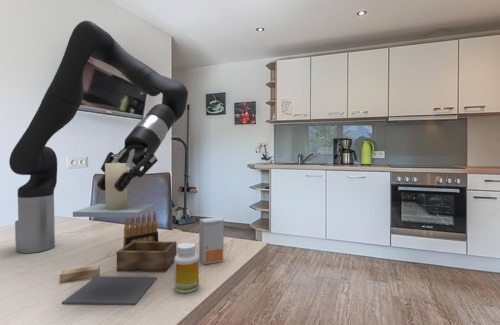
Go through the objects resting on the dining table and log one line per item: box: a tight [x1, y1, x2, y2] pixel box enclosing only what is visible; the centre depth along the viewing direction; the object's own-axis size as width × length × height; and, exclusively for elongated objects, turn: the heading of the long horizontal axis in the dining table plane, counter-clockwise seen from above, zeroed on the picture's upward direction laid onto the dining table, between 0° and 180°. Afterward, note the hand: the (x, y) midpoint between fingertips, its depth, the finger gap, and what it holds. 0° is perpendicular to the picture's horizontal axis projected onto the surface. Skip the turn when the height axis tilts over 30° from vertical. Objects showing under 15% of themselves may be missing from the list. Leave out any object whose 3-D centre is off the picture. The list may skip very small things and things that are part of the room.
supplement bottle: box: [173, 242, 200, 294], centre depth 62 cm, size 5×5×10 cm
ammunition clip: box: [122, 210, 159, 248], centre depth 88 cm, size 11×2×12 cm, turn 132°
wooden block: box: [59, 265, 101, 285], centre depth 67 cm, size 8×2×2 cm, turn 113°
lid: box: [72, 162, 155, 218], centre depth 62 cm, size 14×10×11 cm
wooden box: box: [116, 240, 178, 273], centre depth 76 cm, size 13×9×5 cm
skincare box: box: [198, 216, 225, 265], centre depth 78 cm, size 6×4×12 cm
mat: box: [61, 275, 158, 306], centre depth 61 cm, size 15×12×1 cm
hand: (109, 188), depth 60 cm, fingers closed on lid, 4 cm apart
